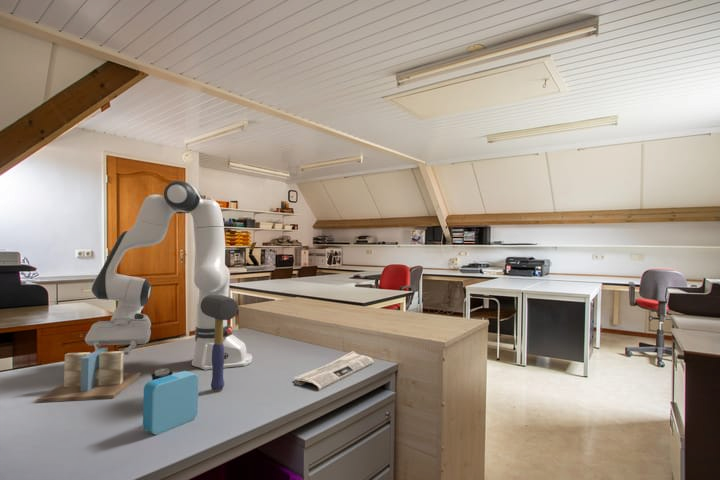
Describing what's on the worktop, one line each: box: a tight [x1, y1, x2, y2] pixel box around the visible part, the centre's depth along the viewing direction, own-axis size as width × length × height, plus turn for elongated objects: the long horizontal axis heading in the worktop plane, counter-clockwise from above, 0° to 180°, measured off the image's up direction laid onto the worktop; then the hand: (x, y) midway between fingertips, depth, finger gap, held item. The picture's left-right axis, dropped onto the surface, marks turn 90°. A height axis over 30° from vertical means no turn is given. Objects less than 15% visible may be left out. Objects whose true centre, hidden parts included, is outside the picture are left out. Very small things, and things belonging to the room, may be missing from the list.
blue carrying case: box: [142, 370, 199, 436], centre depth 95 cm, size 12×4×12 cm, turn 147°
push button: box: [150, 367, 174, 381], centre depth 105 cm, size 7×5×10 cm
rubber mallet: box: [201, 295, 239, 392], centre depth 118 cm, size 12×8×30 cm, turn 49°
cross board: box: [36, 350, 142, 403], centre depth 119 cm, size 20×20×11 cm
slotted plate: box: [80, 347, 109, 392], centre depth 119 cm, size 12×2×10 cm, turn 10°
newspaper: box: [293, 350, 375, 392], centre depth 136 cm, size 35×12×4 cm, turn 147°
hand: (111, 354), depth 130 cm, fingers open, 8 cm apart
